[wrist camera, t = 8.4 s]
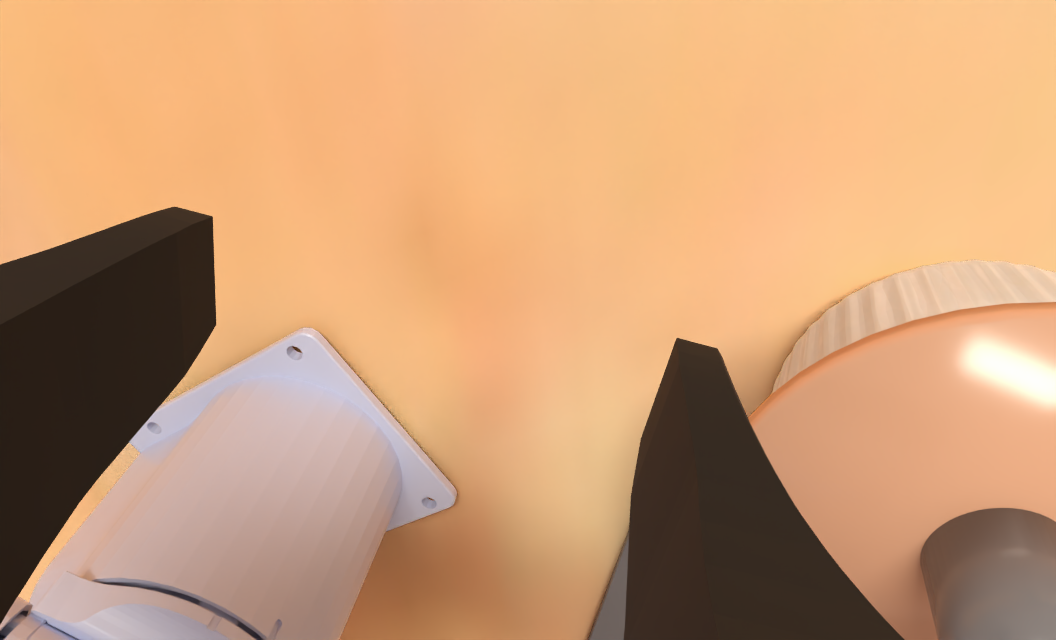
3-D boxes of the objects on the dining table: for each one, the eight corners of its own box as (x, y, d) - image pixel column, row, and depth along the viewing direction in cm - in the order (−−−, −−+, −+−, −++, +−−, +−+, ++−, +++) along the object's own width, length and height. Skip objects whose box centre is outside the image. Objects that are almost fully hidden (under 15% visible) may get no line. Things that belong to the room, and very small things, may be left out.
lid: (842, 745, 26) (862, 919, 22) (604, 440, 21) (579, 595, 17) (1394, 642, 20) (1552, 855, 16) (1239, 187, 15) (1411, 337, 11)
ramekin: (857, 155, 21) (891, 260, 17) (1285, 306, 21) (1428, 449, 17) (683, 465, 28) (676, 598, 23) (1013, 580, 28) (1067, 735, 23)
